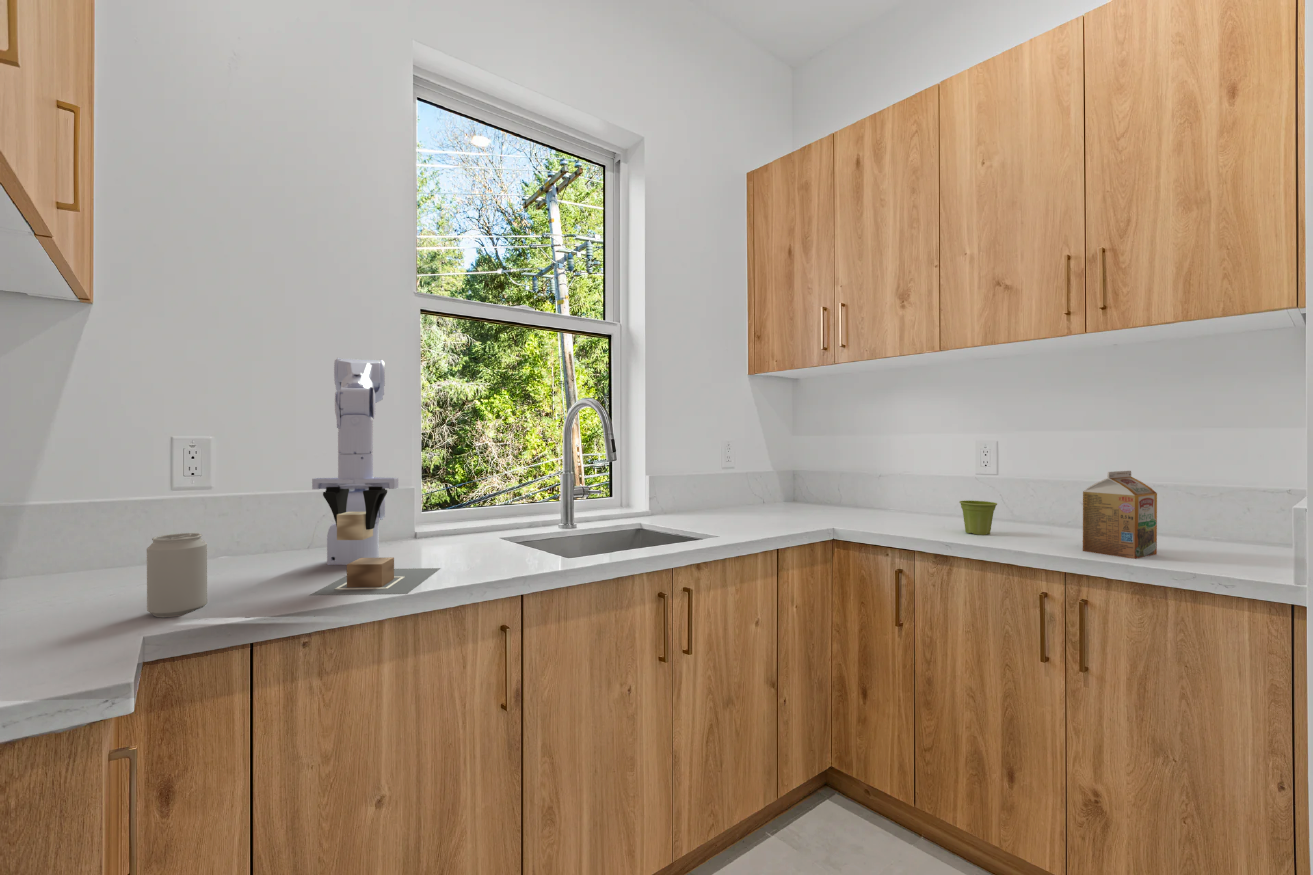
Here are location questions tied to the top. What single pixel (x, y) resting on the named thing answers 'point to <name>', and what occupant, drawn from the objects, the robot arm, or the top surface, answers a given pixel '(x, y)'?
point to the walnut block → (370, 572)
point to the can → (176, 574)
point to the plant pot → (978, 516)
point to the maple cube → (352, 526)
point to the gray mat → (399, 585)
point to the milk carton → (1120, 517)
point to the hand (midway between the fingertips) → (355, 528)
